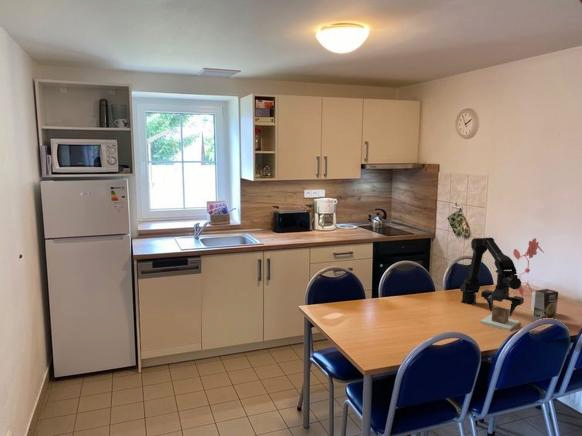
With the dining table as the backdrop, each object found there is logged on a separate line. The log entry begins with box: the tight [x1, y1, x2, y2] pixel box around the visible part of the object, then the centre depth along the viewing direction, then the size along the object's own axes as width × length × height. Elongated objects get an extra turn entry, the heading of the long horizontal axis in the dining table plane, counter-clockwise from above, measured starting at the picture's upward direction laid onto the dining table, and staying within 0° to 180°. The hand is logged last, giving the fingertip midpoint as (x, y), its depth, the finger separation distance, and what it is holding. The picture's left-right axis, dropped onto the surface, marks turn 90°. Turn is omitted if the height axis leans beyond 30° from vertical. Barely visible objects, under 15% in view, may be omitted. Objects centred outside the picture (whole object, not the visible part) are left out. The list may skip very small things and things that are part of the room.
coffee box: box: [532, 288, 559, 322], centre depth 228 cm, size 9×6×16 cm
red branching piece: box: [512, 237, 545, 297], centre depth 270 cm, size 15×26×35 cm, turn 124°
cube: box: [491, 306, 510, 324], centre depth 225 cm, size 6×6×6 cm
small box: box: [530, 291, 536, 313], centre depth 241 cm, size 8×6×10 cm
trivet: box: [480, 313, 521, 332], centre depth 226 cm, size 14×14×1 cm
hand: (500, 313), depth 225 cm, fingers open, 9 cm apart
